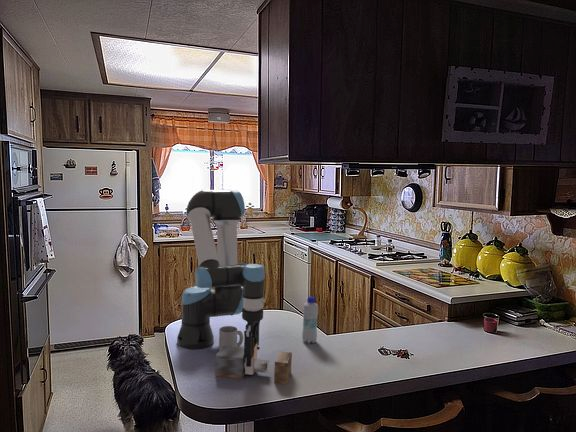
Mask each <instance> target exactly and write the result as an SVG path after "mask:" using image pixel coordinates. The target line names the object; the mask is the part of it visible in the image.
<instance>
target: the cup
mask: <svg viewBox="0 0 576 432" xmlns="http://www.w3.org/2000/svg"><path fill="white" fill-rule="evenodd" d="M218 332H219V333H218V334H219V335H218V337H219V339H218V340H219V341H218V350H219V351H220V349H221V348H222V347H223V346H228V347H238V348H239V347H240V346H241V345H243V344H244V332H243V331H241V330H238V327H236V326H233V325H232V326H231V325H225V326H222V327H220V328H219V331H218ZM238 336H239V341H238ZM219 351H218V352H219Z"/></svg>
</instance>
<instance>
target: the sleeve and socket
mask: <svg viewBox="0 0 576 432" xmlns="http://www.w3.org/2000/svg"><path fill="white" fill-rule="evenodd" d="M243 355H244V347H239V346H238V347H228V346H223V347H222V348H221V349H220V351H218V352H217V353H216V354H215V366H214V367H215V373H214V376H215V377H225V378H233V379H238V380H239V379H240V380H242V379H243V378H244V376H245V375H246V374H245V370H244V359H245V358H244V357H243ZM292 358H293V352H291V351H290V352H289V351H288V352H287V351H281V350H280V351H279V352H278V354H277V356H276V359H274V360H275V361H274V373H273V375H274V376H273V380H274V381H273V382H274V384H282V385H288V381H289V380H290V376H291V374H292Z"/></svg>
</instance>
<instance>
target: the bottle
mask: <svg viewBox="0 0 576 432" xmlns="http://www.w3.org/2000/svg"><path fill="white" fill-rule="evenodd" d="M302 315H303V323H302V324H303V325H302V326H303V327H302V341H303V342H304V344H305V343H307V344H308V345H310V344H314V343H316V341H317V339H318V338H317V337H318V333H317V332H318V331H317V330H318V329H317V328H318V327H317V326H318V315H319V304H317V303H316V298H315V297H314V296H308V297H307V300H306V302H305V303H304V304H303V310H302Z"/></svg>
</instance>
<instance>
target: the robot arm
mask: <svg viewBox="0 0 576 432" xmlns="http://www.w3.org/2000/svg"><path fill="white" fill-rule="evenodd" d="M245 210H246V208H245V200H244V197H243V195H242V193H241V192H240V191H238V190H234V189H203V190H202V189H201V190H200V191H198V192H196V193H195V194H193V196H192V197H191V198H190V200H189V201H188V204H187V206H186V218H187V221H188V222H189V223H190V226H191V232H192V235H193V241H194V247H195V251H196V256H197V261H198V263H197V264H198V266H199V267H196V268H195V270H194V281H195V282H194V283H195V285H194V286H190V287H188V288H186V289H184V291H183V292H182V295H181V325H180V329H179V331H178V334H177V337H176V343H177V345H178V346H179V347H180V348H184V349H189V350H197V349H199V350H200V349H204V348H207V347H209V346H211V345H212V344H213V343H214V342H215V341H214V339H215V338H214V337H215V336H214V333H213V330H212V327H211V323H210V322H211V318H215V317H216V318H217V317H224V316H234V315H240V314H241V318H242V320H243V321H245V322H246V324H245V330H244V332H243V348H244V355H243V357H244V358H246V360H245V375H251V376H252V375H254V374H253V357H254V356H253V346H254V342H257V351H260V348H261V347H260V324H261V321H262V320H263V319H264V303H266V300H265V299H264V295H265V277H266V275H265V267H264V265H262V264H258V263H249V264H248V263H245V262H239V263H238V224H239V223H240V221H241V218H243V217H244V215H245ZM211 218H213V219H212V220H213V222H214V224H215V225H216V237H217V238H216V240H217V241H216V242H217V243H216V242H215V238H214V234H213V230H212V223H211V220H210V219H211ZM216 244H217V246H216Z"/></svg>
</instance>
